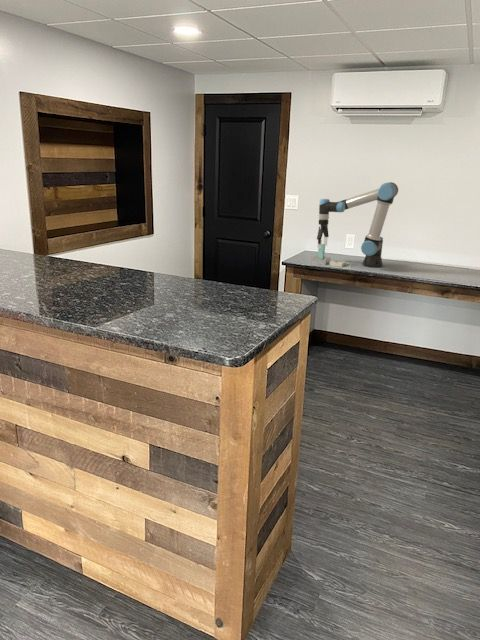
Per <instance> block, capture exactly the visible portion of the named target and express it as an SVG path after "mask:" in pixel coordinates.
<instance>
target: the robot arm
mask: <svg viewBox="0 0 480 640" xmlns="http://www.w3.org/2000/svg"><path fill="white" fill-rule="evenodd" d="M398 193H399V187H398V185H397V184H396V183H395V182H384V183H382V184H381V185H380V186H379V187H378V188H377V189H375V190H371V191H367V192H364V193H361V194H358V195H354V196H351V197H349V198H346V199H343V200H339V201H331V200H330V199H329V198H321V199H320V200H319V204H318V206H319V207H318V208H319V209H318V211H319V212H318V225H320V226H318V232H317V236H316V240H317V249H318V248H321V244H325V246H328V238H329V226H328V225H329V219H330V213H339V214H340V213H344V212H345V210H348V209H351V208H354V207H358V206H361V205H364V204H369V203H372V202H374V201H376V202H377V204H376V208H375V211H374V215H373V218H372V221H371V224H370V228H369V231H368V234H367V235H365V237H364V240H363V243H362V244H361V246H360V250H361V252H362V253H363V255H365V257H364V259H363V262H362V265H363V266H364V267H369V268H382V267H383V258H382V251H383V244H384V238H383V237H382V236H381V235H382V230H383V227H384V225H385V222H386V218H387V215H388V213H389V208H390V206H391V205H392V204H393V203H394V199H395V197H396V196H397V195H398ZM322 237H323V238H322ZM322 239H323V240H322ZM322 241H323V243H322Z"/></svg>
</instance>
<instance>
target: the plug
mask: <svg viewBox="0 0 480 640" xmlns="http://www.w3.org/2000/svg"><path fill="white" fill-rule="evenodd" d="M317 249H318V250H317V255H318V258H320V259H324V257H325V250H326V245H325V244H324V243H321V248H318V247H317Z"/></svg>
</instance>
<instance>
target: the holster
mask: <svg viewBox="0 0 480 640" xmlns="http://www.w3.org/2000/svg"><path fill="white" fill-rule="evenodd" d="M346 264H347V261H345V260H339V259H337V260H336V259H333V260H330V263H328V266H332V267H344V266H345V265H346Z"/></svg>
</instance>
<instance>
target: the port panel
mask: <svg viewBox="0 0 480 640" xmlns="http://www.w3.org/2000/svg"><path fill="white" fill-rule="evenodd" d="M331 261H332V260H331V257H329V256H324V259H320V258H318V254H317V255H315V256H313V257H311V259H310V264H313V265H323V266H326V265H329V264H330V262H331Z"/></svg>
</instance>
